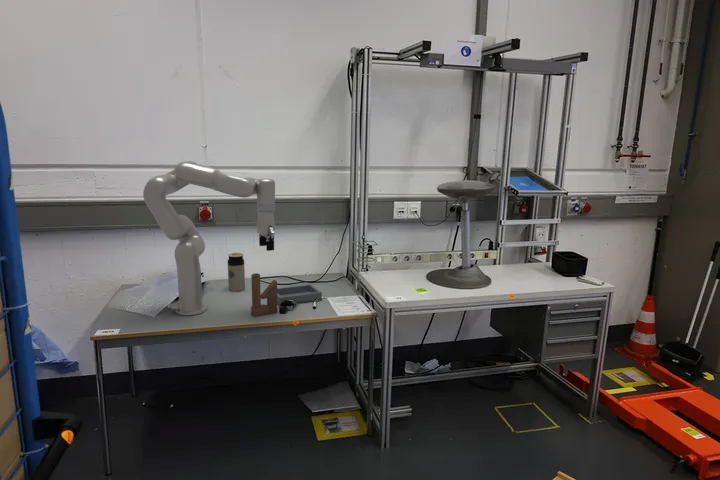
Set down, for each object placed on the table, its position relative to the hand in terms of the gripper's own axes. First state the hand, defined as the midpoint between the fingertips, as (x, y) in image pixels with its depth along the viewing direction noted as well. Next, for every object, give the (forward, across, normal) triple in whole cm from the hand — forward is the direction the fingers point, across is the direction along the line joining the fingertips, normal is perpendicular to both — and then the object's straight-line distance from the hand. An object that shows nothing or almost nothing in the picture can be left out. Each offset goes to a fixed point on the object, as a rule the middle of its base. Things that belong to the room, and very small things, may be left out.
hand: (266, 248), depth 206 cm
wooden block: (+29, +2, -2) cm, 29 cm away
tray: (+28, -10, +17) cm, 35 cm away
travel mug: (+29, -37, -4) cm, 47 cm away
